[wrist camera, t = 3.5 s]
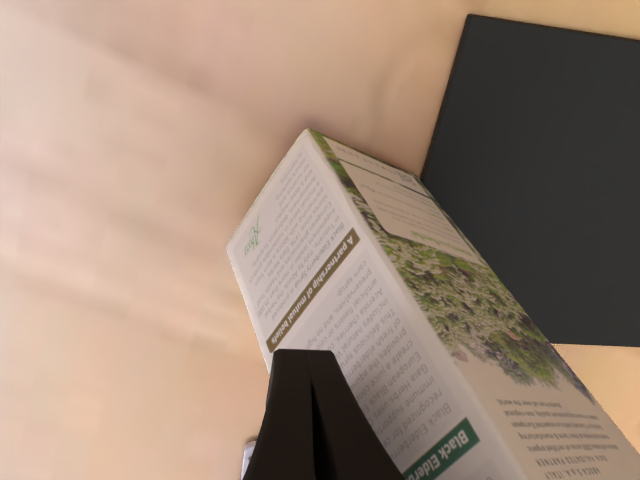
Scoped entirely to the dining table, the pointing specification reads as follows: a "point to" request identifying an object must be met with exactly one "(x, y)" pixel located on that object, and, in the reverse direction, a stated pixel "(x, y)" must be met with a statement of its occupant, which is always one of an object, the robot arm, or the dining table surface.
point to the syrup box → (414, 325)
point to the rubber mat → (547, 172)
